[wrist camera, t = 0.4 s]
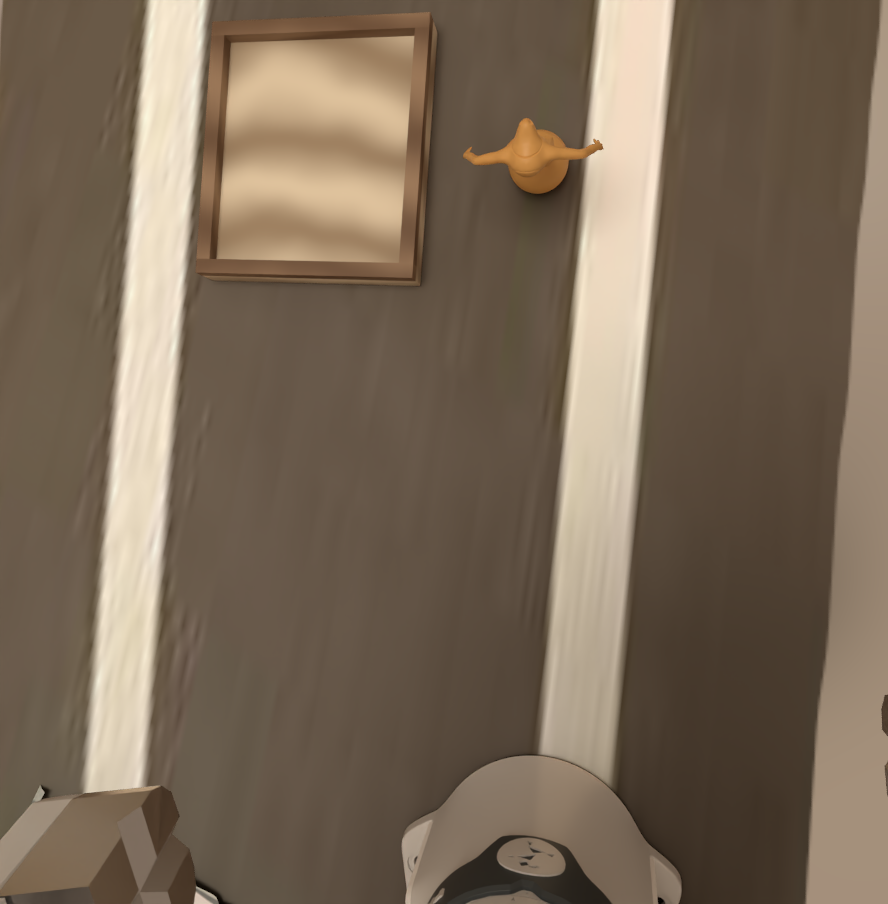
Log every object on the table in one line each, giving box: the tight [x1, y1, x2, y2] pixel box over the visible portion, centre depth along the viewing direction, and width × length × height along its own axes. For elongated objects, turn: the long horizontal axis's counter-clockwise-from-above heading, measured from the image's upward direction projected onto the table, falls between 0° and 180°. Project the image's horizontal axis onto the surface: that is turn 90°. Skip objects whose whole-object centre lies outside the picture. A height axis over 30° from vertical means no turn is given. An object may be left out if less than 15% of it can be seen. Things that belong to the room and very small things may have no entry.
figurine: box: [463, 118, 603, 194], centre depth 46 cm, size 8×6×12 cm
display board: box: [196, 12, 438, 286], centre depth 54 cm, size 18×16×2 cm
